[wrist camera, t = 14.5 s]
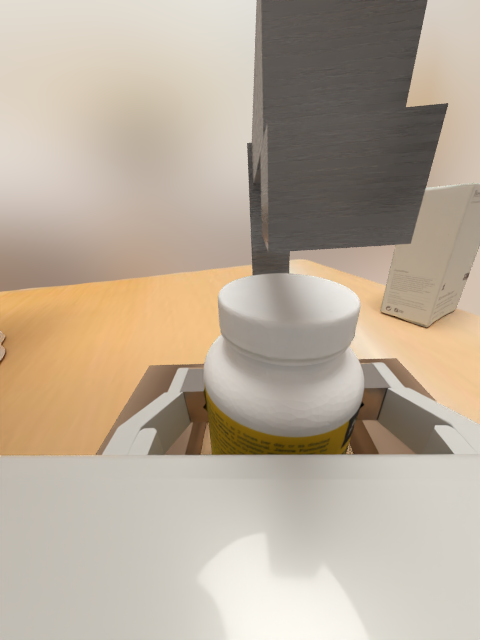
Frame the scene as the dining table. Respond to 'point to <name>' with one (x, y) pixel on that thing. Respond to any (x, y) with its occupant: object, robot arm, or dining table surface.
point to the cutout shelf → (158, 381)
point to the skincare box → (435, 256)
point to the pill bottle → (283, 367)
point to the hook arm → (336, 127)
